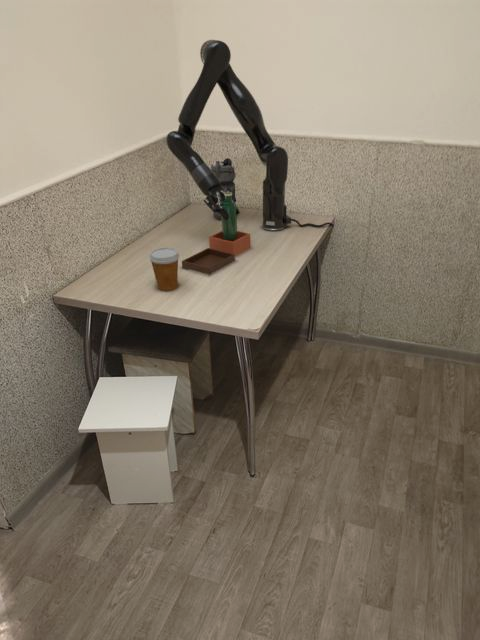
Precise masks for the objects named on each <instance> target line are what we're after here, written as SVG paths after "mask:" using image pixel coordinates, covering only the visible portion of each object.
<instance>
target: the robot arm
mask: <svg viewBox="0 0 480 640" xmlns="http://www.w3.org/2000/svg"><path fill="white" fill-rule="evenodd" d="M199 57H200V61H201V63H202V69H201V72H200V74H199V77H198V79H197V81H196V82H195V84H194V86H193V87H192V89H191V90H190V91H189V93H188V95H187V97H186V99H185V100H184V102H183V105H182V108H181V110H180V113H179V115H178V117H177V122H178V123H179V125H178V128H177V130H172V131H170V132H168V133H167V135H166V137H165V142H166V146H167V149H168V150H169V151H170V153H172V155H173V156H174V157H175V158H176V159H177V160H178V161H179V162H180V163H181V164H182V165H183V167H184V168H185V170H186V171H187V172H188V174H189V175H190V176H191V178H192V180H193V182H194V183H195V184H196V185H197V187H198V188H199V190H200V191H201V192H202V194H203V195H204V196H206V197H205V198H204V199H203V202H204V203H205V205H206V206H207V207H208V208H209V209H210V210H211V211H212V213H213V212H214V213H215V212H218V213H220V214H221V216H222V217H223V218H224V219H225V220H228V219H229V218H230V216H229V215H228V213H227V212H226V211H225V209H223V206H222V203H223V201H225V196H224V193H226V192H231V190H230V188H227V189H226V190H224V189H223V188H222V187H221V182H220V181H219V180H218V178H217V177H216V175H215V174H214V173H213V171H212V170H211V166H209V165H208V164H207V163H206V162H205V160H204V159H203V157H202V156H201V155H200V154H199V153H198V152H197V151H196V150H195V149H193V148H192V145H193V142H194V138H195V134H196V129H197V126H198V124H199V121H200V119H201V117H202V115H203V112H204V110H205V107H206V106H207V103H208V101H209V99H210V97H211V95H212V93H213V91H214V89H215V88H216V86H217V85H218V87H219V89H220V90H221V93H222V95H223V96H224V99H225V101H226V102H227V104H228V106H229V108H230V110H231V112H232V113H233V115H234V117H235V119H236V120H237V122H238V123H239V125H240V126H241V128H242V130H243V131H244V132H245V134H246V135H247V137H248V138H249V140H250V141H251V143H252V145H253V147H254V149H255V151H256V154H257V156H258V159H259V161H260V162H261V164H262V165H263V166H264V167H265V169H266V170H265V178H263V179H262V229H263V230H265V231H272V232H276V231H281V230H284V229H287V225H289V224H290V225H291V224H292V222H295V223H296V224H297V226H299V227H302V228H303V227H306V226H307V227H308V226H310V227H314V228H315V227H316V228H321V227H324V226H327V225H330V226H331V227H334V224H333V223H332V222H324V223H323V224H314V223H310V222H308V223H303V224H302V223H300V221H298V220H297V219H295V218H292V217H291V216H289V215H288V214H287V208H288V206H287V205H286V182H287V179H288V171H289V156H288V152H287V150H286V149H285V148H283V147H281V146H279V145H277V143H275V141H274V140H273V138H272V137H271V135H270V134H269V132H268V130H267V128H266V125H265V120H264V117H263V114H262V111H261V108H260V107H259V104H258V103H257V101H256V99H255V97H254V95H252V92H251V91H250V90H249V89H248V88H247V87H246V85H245V84H244V83H243V82H242V80H241V79H240V78H239V77H238V76H237V74H236V72H235V71H234V69H233V67H232V66H231V64H230V63H231V59H232V53H231V49H230V47H229V45H228V44H227V43H226V42H224V41H222V40H219V39H208V40H206V41H204V42H203V43H202V45H201V47H200V50H199ZM231 193H232V192H231ZM232 199H233V201H234V203H235V202H237V199H236V196H235V197H234V195H233V193H232ZM213 206H214V207H215V208H214V207H213ZM236 213H237V216H238V215H239V214H240V210H239V208H238V207H237V206H236Z"/></svg>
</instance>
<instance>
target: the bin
mask: <svg viewBox="0 0 480 640" xmlns="http://www.w3.org/2000/svg"><path fill="white" fill-rule="evenodd" d="M208 243H209V248H211V249H215V250H219V251H223V252H227V253H231V254H235V257H236V256H238V255H239V254H241V253H244V252H245V251H247V250H249V249H251V233H248V232H243V231H239V230H237V238H236V239H231V240H228V239H224V238H223V236H222V230H220V231H218V232H216V233H214V234H212V235H210V236H208Z"/></svg>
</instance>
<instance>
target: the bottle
mask: <svg viewBox="0 0 480 640" xmlns="http://www.w3.org/2000/svg"><path fill="white" fill-rule="evenodd" d="M224 196H225V201H223V203H222V206H223V209H225V211H226V212H227V213H228V215H229V216H230V218H229V219H228V220H225V219H224V218H223V217H222V220H221V231H222V236H223V238H224V239H228V240H231V239H236V238H237V231H238V220H237V219H238V215H237V213H236V207H237V203H234V201H233V200H232V193H231V192H226V193H224Z"/></svg>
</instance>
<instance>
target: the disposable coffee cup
mask: <svg viewBox="0 0 480 640" xmlns="http://www.w3.org/2000/svg"><path fill="white" fill-rule="evenodd" d="M148 258H149V261H150V263H151V266H152V271H153V273H154V278H155V281H156V285H157V289H158V290H159V291H162V292H169V291H173V290H175V289H177V288H178V275H179V274H178V271H179V259H180V254H179V252H178V249H175V248H173V247H172V248H171V247H159V248H156V249H155V248H154V249H152V250H151V251H150V253H149V257H148Z"/></svg>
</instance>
